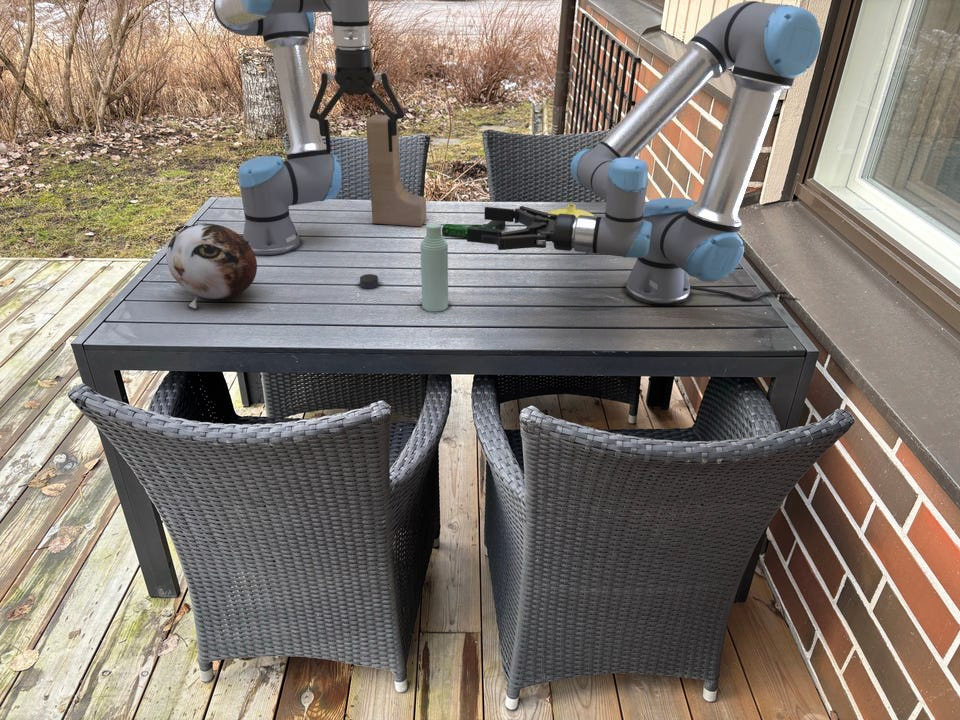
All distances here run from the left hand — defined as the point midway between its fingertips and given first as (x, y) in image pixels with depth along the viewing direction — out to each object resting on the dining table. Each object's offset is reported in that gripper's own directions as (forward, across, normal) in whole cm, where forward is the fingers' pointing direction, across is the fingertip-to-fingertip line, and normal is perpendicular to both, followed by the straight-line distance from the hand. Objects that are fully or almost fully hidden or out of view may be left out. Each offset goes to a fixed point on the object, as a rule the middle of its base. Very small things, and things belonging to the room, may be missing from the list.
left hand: (360, 150), depth 159 cm
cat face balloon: (+33, -35, -4) cm, 48 cm away
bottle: (+33, +16, -12) cm, 38 cm away
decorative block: (+33, +7, +44) cm, 56 cm away
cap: (+31, 0, 0) cm, 31 cm away
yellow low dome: (+33, +57, +35) cm, 75 cm away
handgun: (+33, +30, +34) cm, 56 cm away
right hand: (+12, +25, -16) cm, 32 cm away
